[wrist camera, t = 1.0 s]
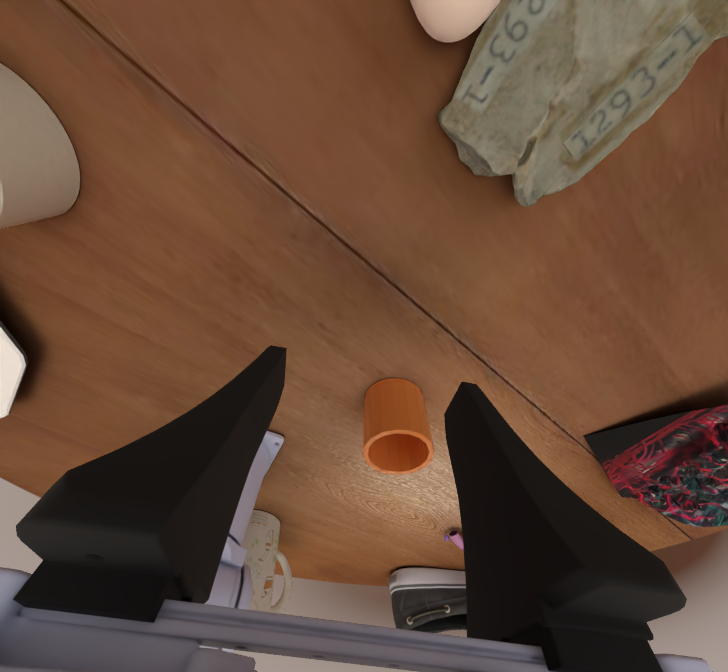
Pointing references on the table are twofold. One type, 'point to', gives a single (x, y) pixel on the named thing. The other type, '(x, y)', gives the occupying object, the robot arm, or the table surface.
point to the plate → (10, 369)
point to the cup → (396, 427)
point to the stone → (570, 83)
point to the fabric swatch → (672, 464)
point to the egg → (452, 17)
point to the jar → (32, 157)
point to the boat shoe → (429, 599)
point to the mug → (265, 562)
